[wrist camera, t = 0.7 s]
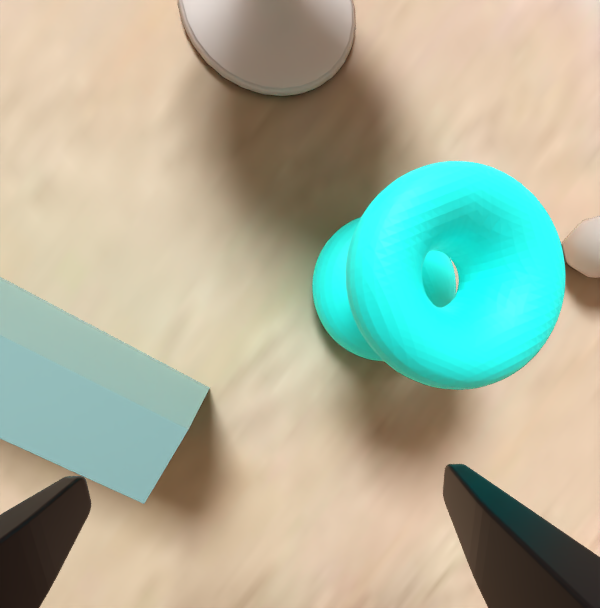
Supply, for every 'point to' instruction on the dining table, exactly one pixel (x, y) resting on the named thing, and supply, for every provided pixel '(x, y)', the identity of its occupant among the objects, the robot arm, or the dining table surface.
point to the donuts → (444, 277)
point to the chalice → (272, 40)
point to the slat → (88, 396)
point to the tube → (584, 247)
